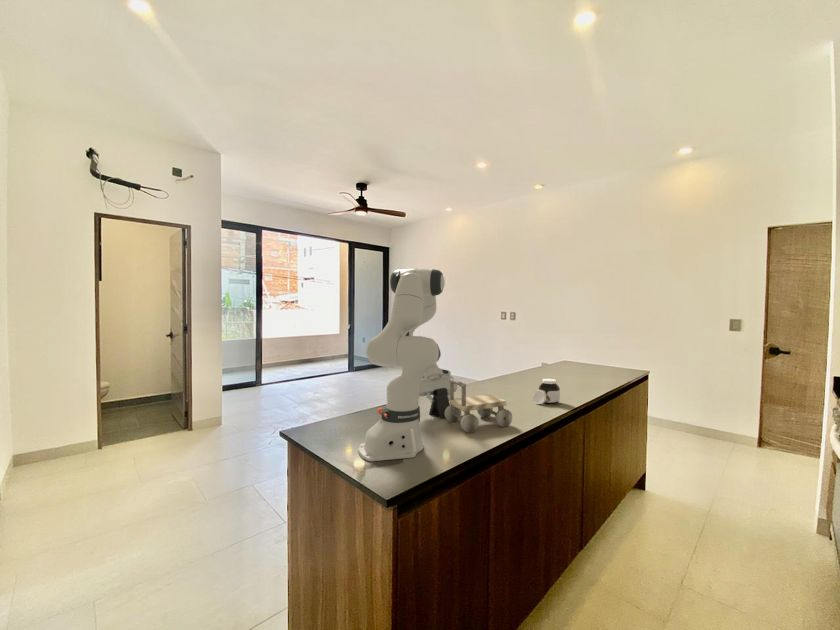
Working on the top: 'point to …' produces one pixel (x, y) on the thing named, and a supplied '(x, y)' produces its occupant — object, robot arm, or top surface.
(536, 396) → the spread jar
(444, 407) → the door stopper
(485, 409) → the wheeled trolley
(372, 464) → the top surface
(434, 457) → the top surface
